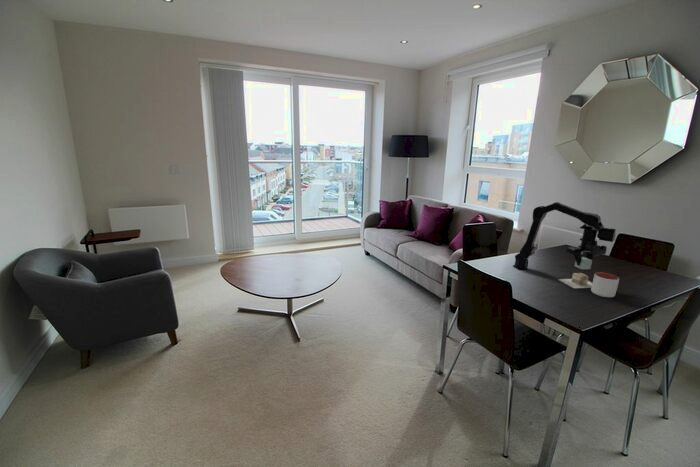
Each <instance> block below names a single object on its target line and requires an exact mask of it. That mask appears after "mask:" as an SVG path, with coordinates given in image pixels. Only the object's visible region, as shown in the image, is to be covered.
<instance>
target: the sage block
mask: <svg viewBox="0 0 700 467" xmlns="http://www.w3.org/2000/svg"><path fill="white" fill-rule="evenodd" d="M592 264H593V260H590V259H588V258H586V256H585V257H584V256H583V257H582V259H581V263H580V265H579V266H578V265H577V263H576V261H575V262H574V267H576V268H578V269H581V270H591V269H592V268H591V267H592Z"/></svg>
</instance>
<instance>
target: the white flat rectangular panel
mask: <svg viewBox="0 0 700 467" xmlns="http://www.w3.org/2000/svg"><path fill="white" fill-rule="evenodd" d="M557 280H558V281H559V282H561V283H564V284H566V285H567V286H569V287H571V288H573V289H591V287H592V283H593V282H591V281H590V280H588V282H587V285H577V284H575V283H573V282H571V281H572V278H560V279H557Z"/></svg>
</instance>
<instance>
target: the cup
mask: <svg viewBox="0 0 700 467" xmlns="http://www.w3.org/2000/svg"><path fill="white" fill-rule="evenodd" d="M619 282H620V277H618V276H617V275H614V274H611V273H607V272H595V273H594V275H593V280H592V282H591V283H592V287H591V288H590V290H591V292H592V293H593V294H594V295H597V296H599V297H603V298H614V297H615V296H616V293H617V290H618V286H619Z"/></svg>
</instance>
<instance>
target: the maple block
mask: <svg viewBox="0 0 700 467" xmlns="http://www.w3.org/2000/svg"><path fill="white" fill-rule="evenodd" d="M589 277H590V276H588V275H587V274H585V273H582V272H573V273H572V277H571V279H572V281H571V282H573V283H575V284H577V285H587V282H588V281H589Z"/></svg>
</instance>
